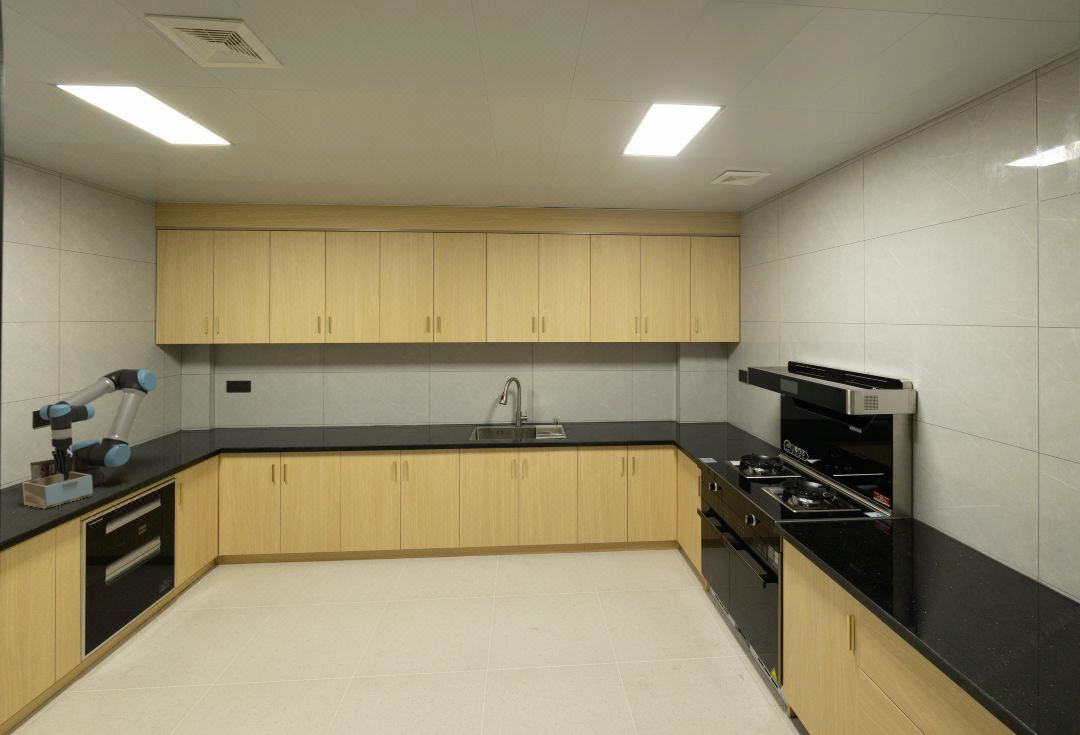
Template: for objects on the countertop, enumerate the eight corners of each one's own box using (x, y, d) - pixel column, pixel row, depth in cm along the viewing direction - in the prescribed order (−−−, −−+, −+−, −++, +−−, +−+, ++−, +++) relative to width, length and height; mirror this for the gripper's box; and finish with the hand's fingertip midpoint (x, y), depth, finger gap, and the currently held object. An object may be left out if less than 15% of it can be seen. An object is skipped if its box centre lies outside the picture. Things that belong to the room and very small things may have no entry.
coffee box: (55, 489, 291) (53, 458, 289) (59, 492, 287) (56, 461, 285) (32, 494, 284) (29, 462, 282) (35, 497, 280) (32, 464, 278)
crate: (71, 492, 287) (69, 471, 286) (91, 496, 282) (90, 474, 281) (24, 505, 268) (22, 482, 267) (44, 509, 263) (43, 486, 262)
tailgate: (91, 492, 282) (90, 474, 281) (94, 493, 281) (92, 475, 280) (45, 505, 263) (44, 486, 262) (48, 506, 262) (46, 487, 262)
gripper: (43, 437, 269) (47, 486, 271) (61, 440, 264) (65, 490, 266) (62, 434, 276) (65, 482, 278) (79, 437, 271) (82, 485, 273)
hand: (65, 486), depth 272 cm, fingers closed
